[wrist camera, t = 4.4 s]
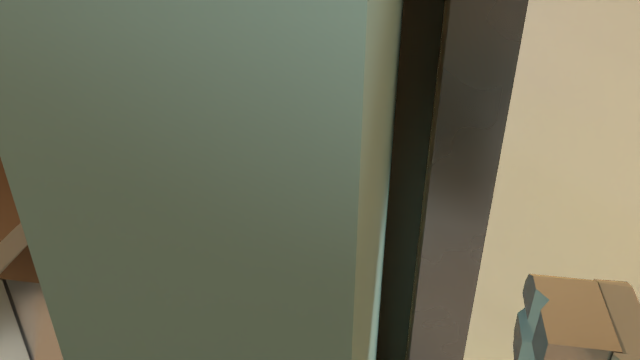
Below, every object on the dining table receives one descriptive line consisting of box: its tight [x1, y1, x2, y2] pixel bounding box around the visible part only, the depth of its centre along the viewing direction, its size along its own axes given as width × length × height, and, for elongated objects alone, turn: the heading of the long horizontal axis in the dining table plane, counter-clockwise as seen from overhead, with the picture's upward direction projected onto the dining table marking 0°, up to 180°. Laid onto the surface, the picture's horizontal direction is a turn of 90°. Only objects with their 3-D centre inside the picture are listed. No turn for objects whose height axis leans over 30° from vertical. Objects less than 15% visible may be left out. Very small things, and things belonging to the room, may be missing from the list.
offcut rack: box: [405, 0, 528, 360], centre depth 12 cm, size 15×20×7 cm
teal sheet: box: [0, 0, 404, 360], centre depth 10 cm, size 2×14×9 cm, turn 0°
